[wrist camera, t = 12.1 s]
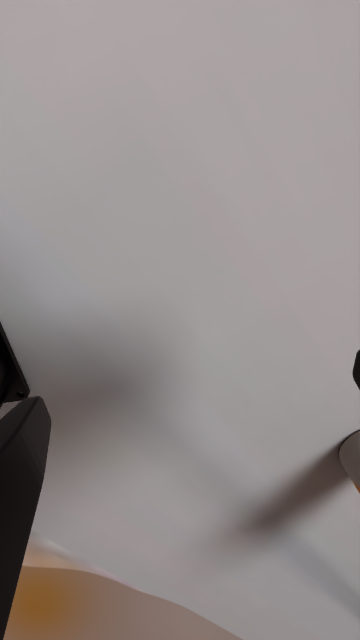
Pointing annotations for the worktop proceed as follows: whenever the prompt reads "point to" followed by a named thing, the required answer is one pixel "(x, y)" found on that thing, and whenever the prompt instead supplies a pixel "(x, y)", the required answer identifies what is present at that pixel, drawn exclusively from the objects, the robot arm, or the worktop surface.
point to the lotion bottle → (351, 458)
